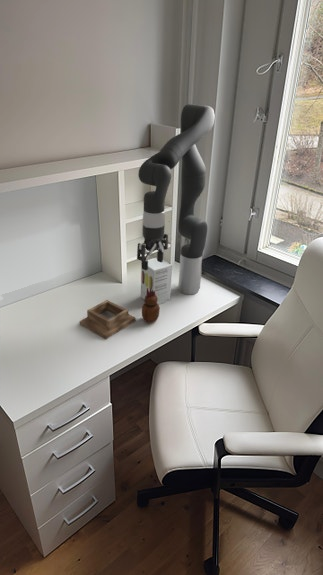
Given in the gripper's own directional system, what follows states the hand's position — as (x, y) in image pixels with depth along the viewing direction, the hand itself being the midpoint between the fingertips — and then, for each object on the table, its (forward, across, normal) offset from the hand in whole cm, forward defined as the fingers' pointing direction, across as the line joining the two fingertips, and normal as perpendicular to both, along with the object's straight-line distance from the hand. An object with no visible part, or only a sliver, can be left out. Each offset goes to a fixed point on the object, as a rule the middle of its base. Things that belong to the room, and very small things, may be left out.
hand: (152, 265), depth 148 cm
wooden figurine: (+24, 0, 0) cm, 24 cm away
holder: (+24, +12, -11) cm, 29 cm away
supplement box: (+24, -14, -9) cm, 29 cm away
